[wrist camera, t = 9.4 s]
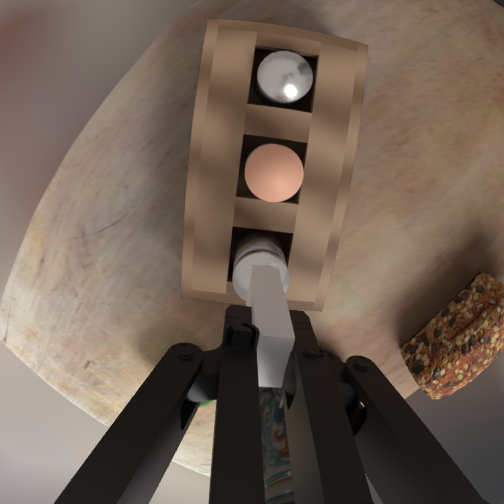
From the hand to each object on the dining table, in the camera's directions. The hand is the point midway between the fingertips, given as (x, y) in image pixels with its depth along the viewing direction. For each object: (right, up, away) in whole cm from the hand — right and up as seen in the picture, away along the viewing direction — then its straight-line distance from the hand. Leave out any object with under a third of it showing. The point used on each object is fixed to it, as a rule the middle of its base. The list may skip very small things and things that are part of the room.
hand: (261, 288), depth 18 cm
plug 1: (+2, +18, +10) cm, 21 cm away
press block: (+1, +11, +14) cm, 18 cm away
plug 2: (0, +2, +12) cm, 12 cm away
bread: (+31, -9, +23) cm, 40 cm away
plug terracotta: (+1, +10, +11) cm, 15 cm away
